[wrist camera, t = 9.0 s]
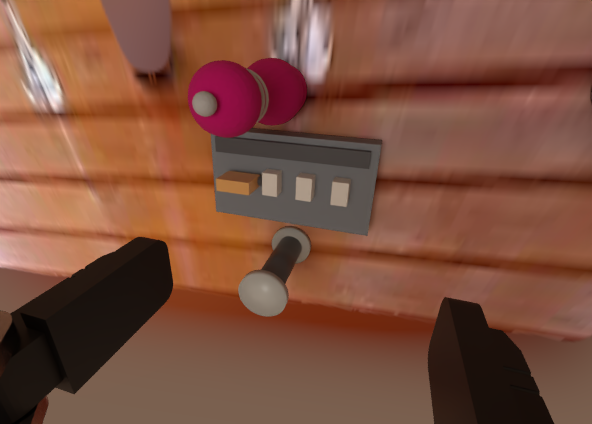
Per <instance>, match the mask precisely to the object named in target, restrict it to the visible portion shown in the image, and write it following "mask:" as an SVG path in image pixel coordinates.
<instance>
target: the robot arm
mask: <svg viewBox="0 0 592 424" xmlns="http://www.w3.org/2000/svg"><path fill="white" fill-rule="evenodd" d="M591 100H592V94H591ZM172 289H173V279H172V272H171V266H170V259H169V253H168V247H167V245H166V243H165V242H164V241H160V240H155V239H150V238H145V237H137V238H135V239H133V240H132V241H130V242H129V243H127V244H126V245H124V246H122V247H121V248H119V249H118V250H116V251H115V252H112V253H109V254H107V255H104V256H102V257H100V258H98V259H97V260H95V261H94V262H92V263H90V264H89V265H87V266H86V267H85V269H81V270H79V271H78V272H76V273H74V274H73V275H72V277H71V278H66V279H65V280H63V281H62V282H60V283H59V284H57V285H55V286H54V287H52V288H51V289H49V290H48V291H46V292H44V293H43V294H41V295H39V296H38V297H36V298H35V299H33V300H32V301H30V302H28V303H27V304H25V305H24V306H22V307H20V308H19V309H17V310H16V311H14V312H12V313H11V314H9V313H8V312H6V311H0V424H43V420H44V417H45V415H46V412H47V408H48V404H49V401H48V397H47V394H49V393H50V392H51V391H52V390H53V389H54V388H55V387H56V388H58V389H61V390H64V391H67V392H70V393H72V394H75V393H76V392H77V391H78V390H79V389H80V388H81V387H82V386H83V385H84V384H85V383H86V382H87V381H88V380H89V379H90V378H91V377H92V376H93V375H94V374H95V373H96V372H97V371H98V370H99V369H100V367H102V366H103V365H104V364H105V363H106V362H107V361H108V360H109V359H110V358H111V357H112V356H113V355H114V354H115V353H116V352H117V351H118V350H119V349H120V348H121V347H122V346H123V345H124V344H125V343H126V342H127V341H128V340H129V339H130V338H131V337H132V336H133V335H134V334H135V333H136V332H137V331H138V330H139V329H140V328H141V327H142V326H143V324H145V323H146V322H147V320H149V318H151V317H152V316H153V315H154V314H155V312H157V311H158V310H159V309H160V308H161V306H163V305H164V303H165V302H166V301H167V300H168V299H169V297H170V295H171V292H172ZM428 372H429V381H430V389H431V398H432V407H433V416H434V424H554V422H553V420H552V418H551V416H550V414H549V411H548V409H547V407H546V405H545V402H544V400H543V398H542V397H541V396H540V395H539V389H538V387H537V385H536V383H535V381H534V378H533V377H531V372H530V369H529V367H528V365H527V363H526V361H525V359H524V356H523V354H522V352H521V350H520V349H519V348H518V347H517V346H516V345H515V344H514V343H513V341H512V340H511V339H510V338H509V337H508V336H507V335H506V334H505V333H504V332H503V331H501V330H497V329H492V328H489V327H488V324H487V321H486V319H485V316H484V313H483V311H482V308H481V306H480V305H479V304H477V303H472V302H467V301H462V300H457V299H452V298H447V297H445V298H444V299H443V301H442V303H441V306H440V310H439V313H438V317H437V320H436V324H435V327H434V330H433V334H432V337H431V341H430V345H429V351H428Z"/></svg>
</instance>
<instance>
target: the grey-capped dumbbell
mask: <svg viewBox="0 0 592 424" xmlns="http://www.w3.org/2000/svg"><path fill="white" fill-rule="evenodd" d="M272 248H273V252H272V254H271V255H270V257H269V258H268V260H267V261H266V263H265V265H264V266H263V268H262V269H261V270H254V271H251V272H249V273H248V274H247V275H246V276H245V277H244V278H243V280H242V281H241V283H240V285H239V296H240V299H241V301H242V302H243V304H244V305H245V306H246V307H247V308H248V309H249V310H251V311H252V312H254V313H256V314H258V315H261V316H274V315H277V314H279V313H281V312H282V311H283V309H284V307H285V305H286V303H287V301H288V296H289V295H288V289H287V287H286V285H285V283H286V281H287V279H288V277H289V275H290V273H291V271H292V269H293V267H294V265H295V264H296V263H300V262H302V261H304V260H305V259H306V258H307V257H308V255H309V252H310V250H311V241H310V239H309V237H308V235H307V234H306V233H305V232H304V231H303V230H301V229H300V228H297V227H294V226H285V227H283V228H281V229H279V230H278V231H277V232H276V234H275V235H274V237H273V239H272Z"/></svg>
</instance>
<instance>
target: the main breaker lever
mask: <svg viewBox="0 0 592 424" xmlns="http://www.w3.org/2000/svg"><path fill="white" fill-rule="evenodd" d="M259 186H262V177H261V176H260V175H258V174H251V173H243V172H235V171H228V172H225V173H224V174H223V175H221V176H219V177H218V178H216V188H217V191H222V192H229V193H236V194H243V195H250V194H251V193H252V192H254V191H255V190H256V189H257V188H258V187H259Z"/></svg>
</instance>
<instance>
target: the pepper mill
mask: <svg viewBox="0 0 592 424" xmlns="http://www.w3.org/2000/svg"><path fill="white" fill-rule="evenodd" d="M306 96H307V86H306V82H305V79H304V77H303V75H302V74H301V73H300V72H299V71H298V70H297V69H296V68H295V67H293V66H291V65H290V64H288V63H287V62H285V61H283V60H281V59H277V58H267V59H261V60H259V61H256V62H255V63H253V64H252V65H251V66H249V67H248V68H247V69H246V68H244V67H243V66H241V65H239V64H237V63H234V62H230V61H225V60H222V61H214V62H210V63H208V64H206V65H204V66H202V67H201V68H200V69H199V70H198V71H197V72H196V73H195V74H194V76H193V78H192V80H191V82H190V85H189V89H188V103H189V107H190V111H191V113H192V115H193V117H194V119H195V120H196V122H197V123H198V124H199V125H200V126H201V127H202V128H203V129H204V130H205V131H207V132H209V133H210V134H213V135H216V136H219V137H224V138H232V137H237V136H240V135H243V134H244V133H246V132H248V131H249V130H250V129H251V128H252V127H253V126H254V125H255V124H256V123H257V122H259V123H262V124H265V125H279V124H283V123H286V122H287V121H289V120H290V119H292V118H293V117H294V116H295V115H296V113H297V112H298V111H299V110H300V109H301V108H302V106H303V105H304V103H305V100H306Z"/></svg>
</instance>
